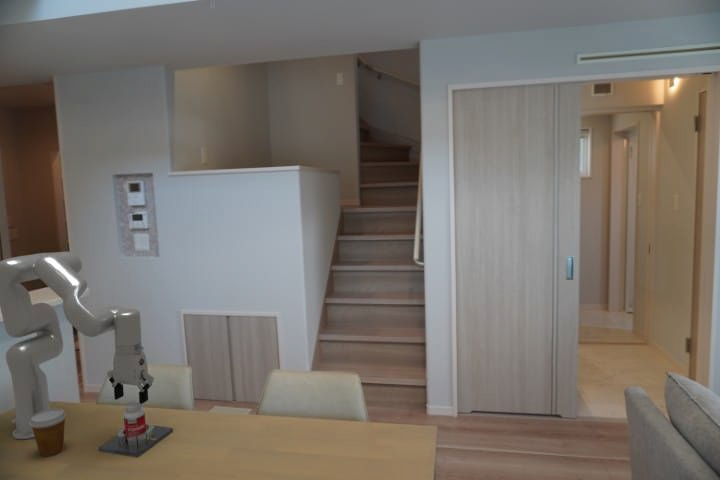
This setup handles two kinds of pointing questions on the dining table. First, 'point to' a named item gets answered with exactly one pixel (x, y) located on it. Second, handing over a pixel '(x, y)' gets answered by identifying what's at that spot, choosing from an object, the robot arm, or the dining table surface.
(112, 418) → the dining table surface
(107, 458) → the dining table surface
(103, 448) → the socket plate
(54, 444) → the disposable coffee cup
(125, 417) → the pill bottle
